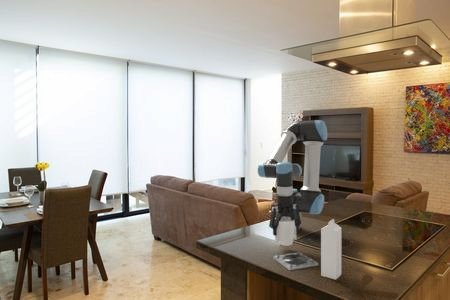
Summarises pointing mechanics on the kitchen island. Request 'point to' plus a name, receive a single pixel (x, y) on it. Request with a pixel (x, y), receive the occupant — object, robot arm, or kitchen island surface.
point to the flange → (295, 260)
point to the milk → (331, 250)
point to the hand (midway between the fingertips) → (285, 240)
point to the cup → (286, 231)
